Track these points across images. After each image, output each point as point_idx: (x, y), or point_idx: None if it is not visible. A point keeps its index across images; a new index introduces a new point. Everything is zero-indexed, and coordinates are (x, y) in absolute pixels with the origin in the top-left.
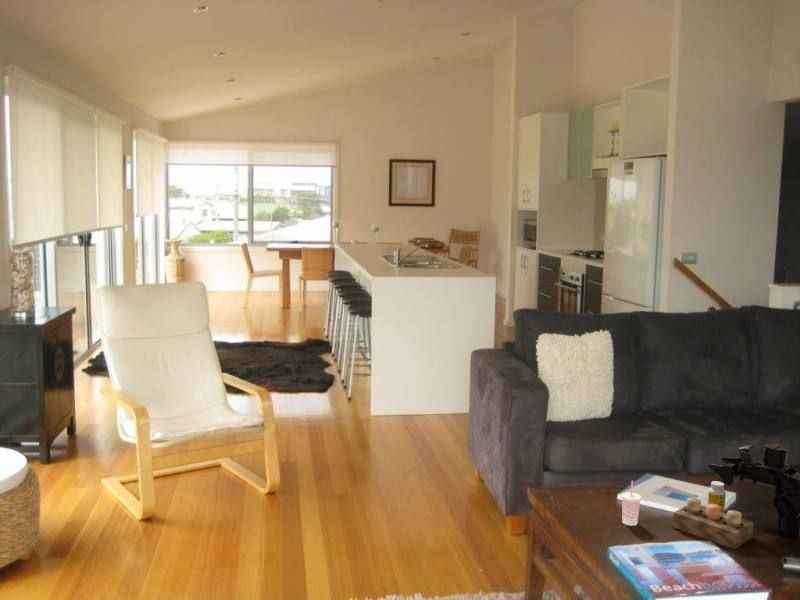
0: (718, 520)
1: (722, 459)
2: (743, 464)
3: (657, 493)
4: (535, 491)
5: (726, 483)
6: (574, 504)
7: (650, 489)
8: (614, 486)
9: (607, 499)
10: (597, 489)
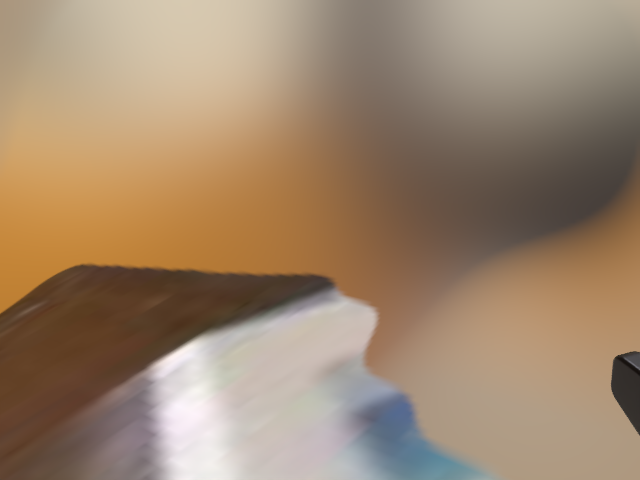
0: None
1: (622, 389)
2: None
3: (339, 377)
4: (54, 276)
5: None
6: (5, 359)
7: (349, 340)
8: (255, 293)
9: (119, 361)
10: (186, 298)
